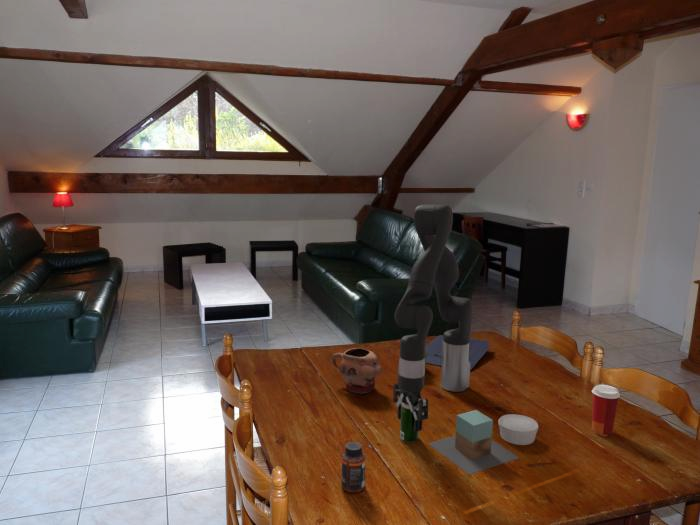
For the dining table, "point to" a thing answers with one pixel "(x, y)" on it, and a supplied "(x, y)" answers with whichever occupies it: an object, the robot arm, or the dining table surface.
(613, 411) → the paper cup
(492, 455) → the mat
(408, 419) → the beer can
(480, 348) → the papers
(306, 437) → the dining table surface
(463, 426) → the tower top
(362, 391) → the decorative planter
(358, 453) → the supplement bottle
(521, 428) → the ramekin
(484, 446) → the tower base
